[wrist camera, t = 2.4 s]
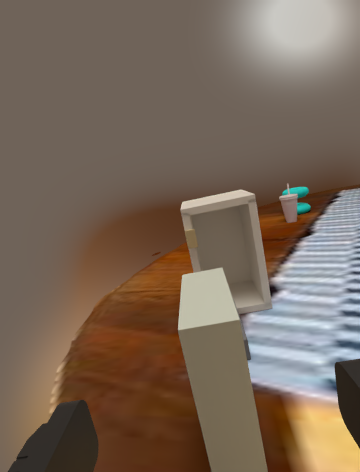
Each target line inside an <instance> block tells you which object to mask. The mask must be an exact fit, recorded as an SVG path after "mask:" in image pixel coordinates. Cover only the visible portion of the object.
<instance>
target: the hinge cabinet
mask: <svg viewBox="0 0 360 472" xmlns="http://www.w3.org/2000/svg"><path fill="white" fill-rule="evenodd" d="M181 215H182V219H183V224H184V229H185V235H186V239H187V244H188V249H189V252H190V257H191V261H192V266H193V271H194V273H196V272H201V271H206V270H211V269H217V268H223V271H224V274H225V277H226V280H227V283H228V286H229V289H230V292H231V295H232V298H233V301H234V304H235V307H236V310H237V313H238V316H239V314H244V313H250V312H255V311H261V310H267V309H272V302H271V296H270V289H269V283H268V276H267V270H266V264H265V257H264V251H263V244H262V238H261V232H260V225H259V219H258V212H257V206H256V200H255V194H252V193H249V192H247V191H244V190H238V191H233V192H228V193H224V194H218V195H213V196H209V197H204V198H200V199H194V200H190V201H185V202H182V206H181ZM239 319H240V316H239ZM240 324H241V330H242V335H243V341H244V346H245V351H246V357H247V360H249V359H251V357H250V352H249V346H248V341H247V337H246V334H245V331H244V328H243V325H242V322H241V319H240Z"/></svg>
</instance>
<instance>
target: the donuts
mask: <svg viewBox="0 0 360 472" xmlns="http://www.w3.org/2000/svg"><path fill="white" fill-rule="evenodd" d="M289 192H290V194H298V197H297V198H300V197H303V196H305V195H307V194H308V192H309V190H308V188H307V187H296V188H291V189H289ZM282 195H283V196H284V195H288V189H287V190H285V191H283V193H282ZM310 209H311V207H310V205H309V204H307V203H297V215H298V214H303V213H306V212H308V211H309V210H310Z"/></svg>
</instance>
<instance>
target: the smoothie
mask: <svg viewBox="0 0 360 472" xmlns="http://www.w3.org/2000/svg"><path fill="white" fill-rule="evenodd" d="M287 189H288V195H284V196H281V197H279V198H280V200H281V204H282V207H283V211H284V215H285V218H286V222H288V223H291V222H296V221H297V197H298V194H290V192H289V184H287Z"/></svg>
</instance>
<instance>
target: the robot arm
mask: <svg viewBox="0 0 360 472" xmlns="http://www.w3.org/2000/svg"><path fill="white" fill-rule="evenodd" d="M335 375H336V385H337V394H338V403H339V409H340V412H341V415H342V418H343V420H344V423H345V425H346V427H347V429H348V430H349V432H350V434H351V435H352V437H353V438H354V440H355V442H356V443H357V445H358V446H359V448H360V359H355V360H348V361H342V362H336V363H335ZM97 457H98V438H97V434H96V431H95V428H94V425H93V422H92V418H91V415H90V412H89V409H88V406H87V403H86V402H85V401H84V400H78V401H71V402H65V403H60V404H59V405H58V406H57V407H56V409H55V411H54V412H53V414H52V416H51V418H50V419H49V421H48V423H46V424H42V425H41V426H40V428H38V429H37V431H36V432H35V433H34V434H33V435H32V436H31V437H30V438H29V439H28V440H27V441H26V443H25V445H24V446H23V448H22V450H21V451H20V453H19V454H18V456H17V460H16V461H15V462H14V463H13V464H12V466H11V468H10V469H9V471H8V472H93V470H94V467H95V464H96V461H97Z"/></svg>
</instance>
